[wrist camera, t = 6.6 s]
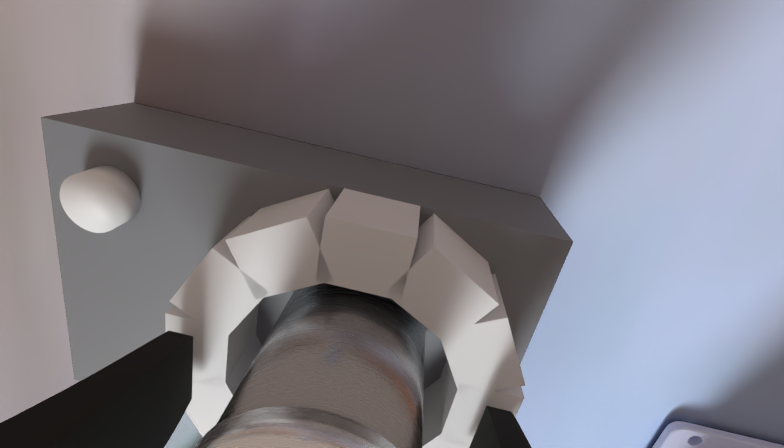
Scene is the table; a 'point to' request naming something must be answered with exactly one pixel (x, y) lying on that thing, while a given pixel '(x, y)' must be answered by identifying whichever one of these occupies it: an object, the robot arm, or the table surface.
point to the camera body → (288, 253)
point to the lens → (331, 377)
